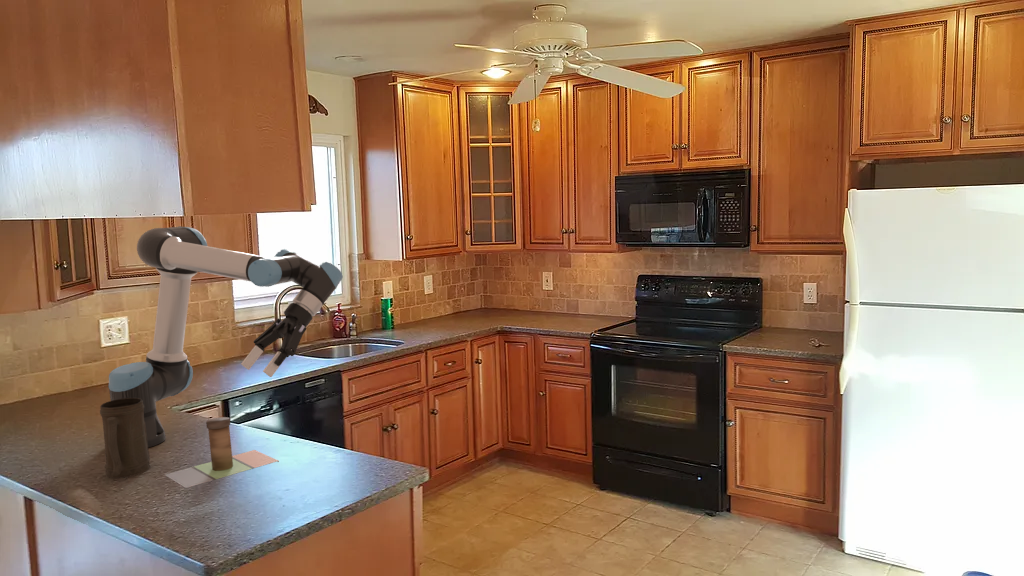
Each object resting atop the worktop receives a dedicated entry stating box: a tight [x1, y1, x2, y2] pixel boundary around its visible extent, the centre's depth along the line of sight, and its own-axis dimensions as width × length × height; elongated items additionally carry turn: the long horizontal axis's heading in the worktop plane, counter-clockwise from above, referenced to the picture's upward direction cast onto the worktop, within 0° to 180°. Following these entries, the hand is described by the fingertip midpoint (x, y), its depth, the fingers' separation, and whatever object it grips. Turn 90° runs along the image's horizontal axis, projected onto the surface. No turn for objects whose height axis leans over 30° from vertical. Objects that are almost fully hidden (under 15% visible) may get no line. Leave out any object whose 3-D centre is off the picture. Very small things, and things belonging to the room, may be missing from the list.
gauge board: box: [164, 449, 280, 489], centre depth 186 cm, size 14×24×1 cm, turn 135°
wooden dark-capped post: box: [206, 416, 233, 471], centre depth 186 cm, size 6×6×12 cm
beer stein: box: [99, 398, 151, 479], centre depth 184 cm, size 15×11×20 cm
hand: (255, 370), depth 197 cm, fingers open, 13 cm apart
